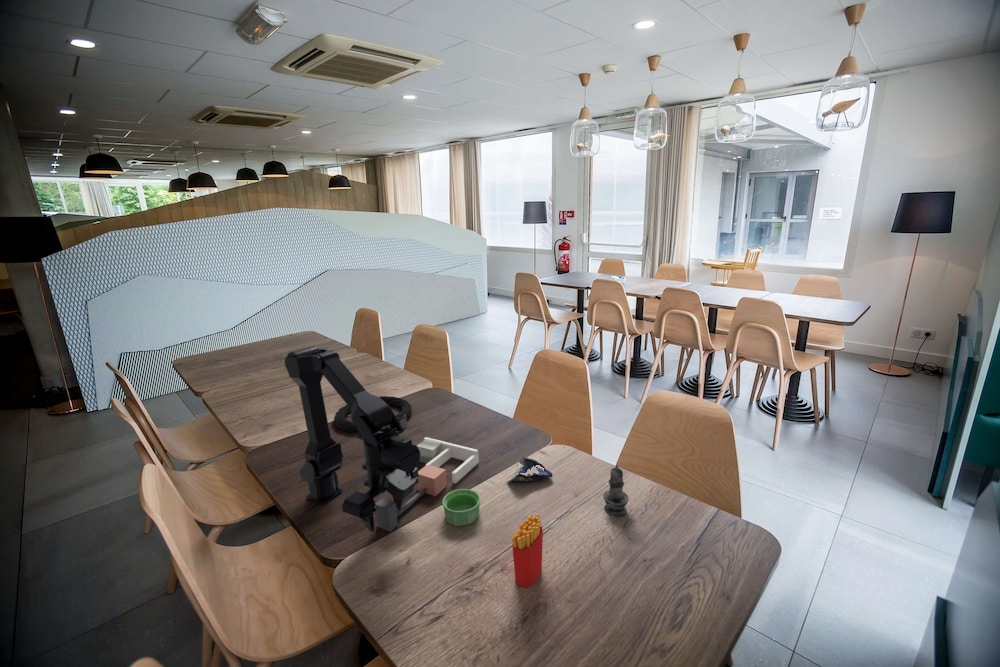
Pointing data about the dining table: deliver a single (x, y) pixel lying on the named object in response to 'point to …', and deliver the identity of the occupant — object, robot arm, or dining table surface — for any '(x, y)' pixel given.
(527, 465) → the snack package
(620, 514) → the dark chess piece
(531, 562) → the french fries
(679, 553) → the dining table surface
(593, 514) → the dining table surface
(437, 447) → the sage block
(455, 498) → the ramekin
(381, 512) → the tethered block
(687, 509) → the dining table surface
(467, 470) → the lane rack
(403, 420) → the cable lock
